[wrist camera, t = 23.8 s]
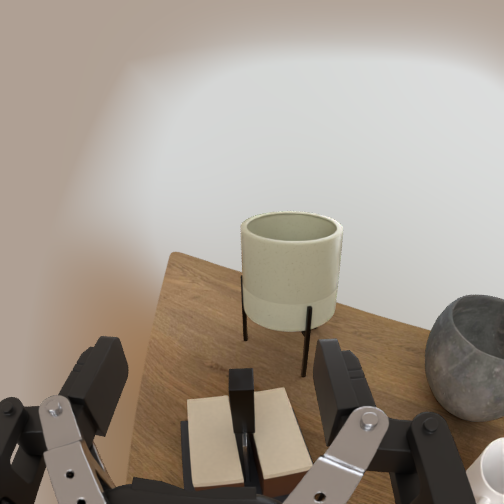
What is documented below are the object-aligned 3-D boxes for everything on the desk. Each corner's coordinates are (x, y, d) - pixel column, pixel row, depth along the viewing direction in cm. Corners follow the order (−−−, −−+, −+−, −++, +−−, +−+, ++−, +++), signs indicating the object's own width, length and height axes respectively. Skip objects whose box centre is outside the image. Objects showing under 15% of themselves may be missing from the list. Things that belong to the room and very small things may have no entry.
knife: (238, 482, 30) (227, 403, 24) (238, 444, 36) (229, 357, 30) (257, 481, 30) (254, 402, 24) (255, 443, 36) (252, 356, 30)
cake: (188, 523, 25) (173, 501, 22) (181, 425, 40) (170, 388, 37) (325, 502, 28) (338, 475, 25) (291, 410, 42) (295, 373, 39)
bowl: (386, 393, 43) (410, 315, 38) (452, 344, 52) (474, 276, 46) (475, 467, 27) (531, 394, 21) (527, 393, 35) (563, 324, 29)
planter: (255, 317, 65) (253, 208, 56) (332, 327, 61) (344, 214, 52) (230, 366, 52) (220, 237, 43) (323, 381, 47) (341, 248, 38)
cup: (502, 496, 20) (545, 454, 16) (453, 563, 15) (502, 536, 11) (463, 470, 27) (499, 426, 23) (409, 531, 21) (447, 499, 17)
